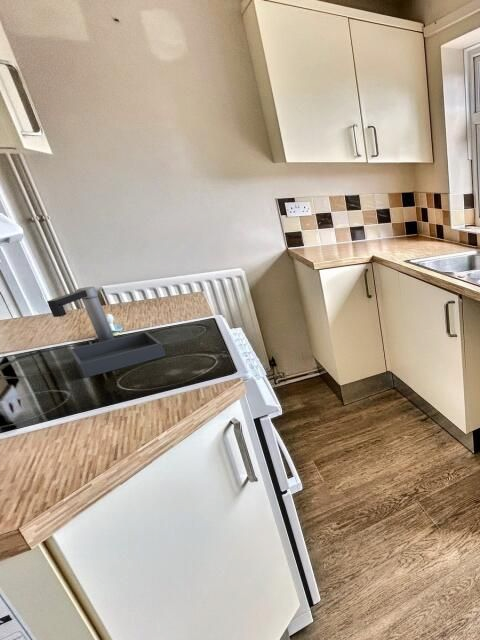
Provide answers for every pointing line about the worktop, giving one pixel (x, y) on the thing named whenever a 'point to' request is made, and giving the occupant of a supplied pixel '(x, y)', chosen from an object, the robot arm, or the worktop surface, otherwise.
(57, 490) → the worktop surface
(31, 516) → the worktop surface
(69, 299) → the spout
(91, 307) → the faucet column
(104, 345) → the sink
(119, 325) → the pacifier
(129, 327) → the worktop surface
